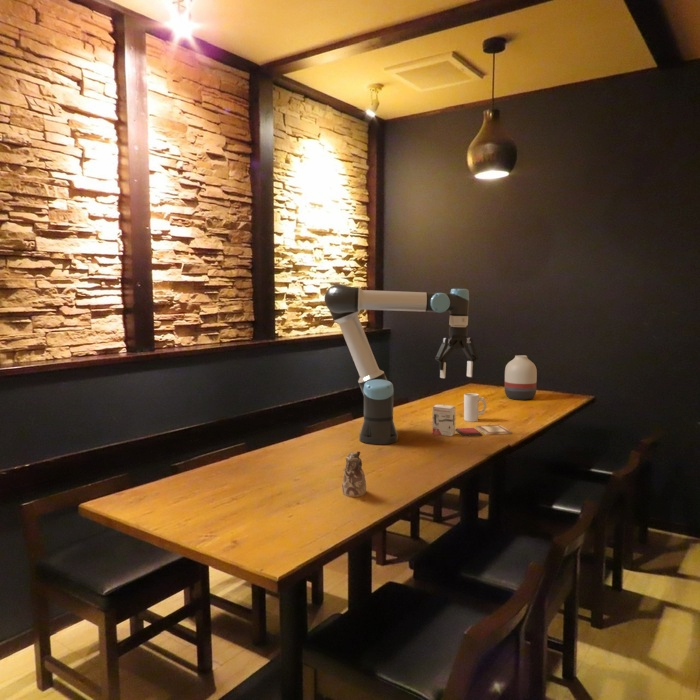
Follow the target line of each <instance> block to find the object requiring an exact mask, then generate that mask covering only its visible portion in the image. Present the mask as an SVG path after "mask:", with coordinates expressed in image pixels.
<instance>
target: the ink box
mask: <svg viewBox="0 0 700 700" xmlns="http://www.w3.org/2000/svg"><path fill="white" fill-rule="evenodd" d="M455 429H456V406H455V405H449V404H448V405H447V404H435V405H433V406H432V435H436V436H438V435H439V436H446V437H453V436H454V435H455V434H456V431H455Z"/></svg>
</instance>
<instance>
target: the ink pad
mask: <svg viewBox="0 0 700 700" xmlns="http://www.w3.org/2000/svg"><path fill="white" fill-rule="evenodd" d="M455 433H458V435H460V436H462V437H482V436H483V435H482V433H483V432H481V431H480V430H479V431H478V429H477V428H476V429H475V428H474V427H461V428H460V427H459V428H458V427H457V428H455Z"/></svg>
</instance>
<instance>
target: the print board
mask: <svg viewBox="0 0 700 700" xmlns="http://www.w3.org/2000/svg"><path fill="white" fill-rule="evenodd" d="M475 428H476V430H477V431H478V430H479V432H480V433H483V434H484V435H487V436H489V435H490V436H491V435H492V436H494V435H512V434H513V432H512V431H511V430H509V429H508V428H506V427H505V426H502V425H501V424H497V425H496V424H495V425H493V424H492V425H475Z"/></svg>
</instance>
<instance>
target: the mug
mask: <svg viewBox="0 0 700 700" xmlns="http://www.w3.org/2000/svg"><path fill="white" fill-rule="evenodd" d="M480 402H482V403H483V408H482V410H481V411H479V407H480V406H479V404H480ZM486 408H487V402H486V400H485V397H483V396H482V397H480V394H479V393H472V392H471V393H468V392H467V393H464V394H463V420H464V421H465V422H470V423H471V422H472V423H473V422H478V421H479V416H480V415H482V416H483V415H484V414H485V411H486Z"/></svg>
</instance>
